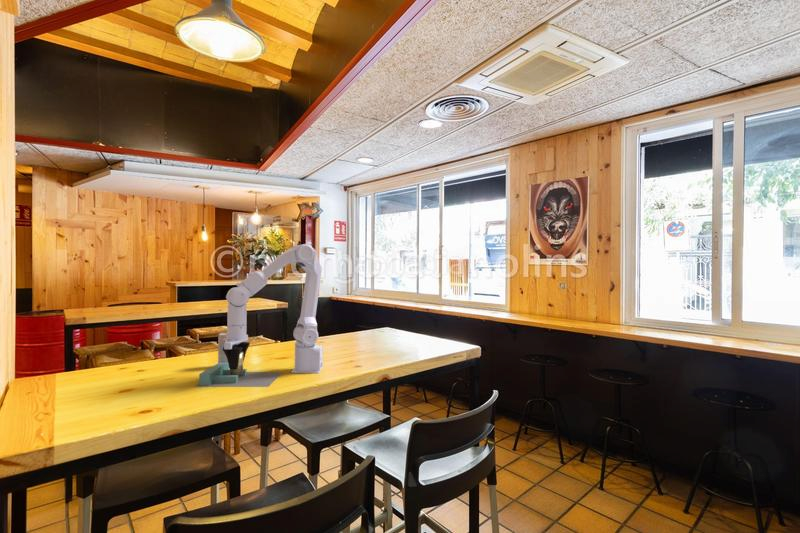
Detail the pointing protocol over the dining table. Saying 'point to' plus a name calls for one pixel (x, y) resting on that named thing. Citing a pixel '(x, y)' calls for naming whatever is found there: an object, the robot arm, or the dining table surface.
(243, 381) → the mat
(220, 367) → the socket dock
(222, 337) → the energy drink
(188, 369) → the dining table surface
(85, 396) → the dining table surface
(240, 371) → the brass tube
